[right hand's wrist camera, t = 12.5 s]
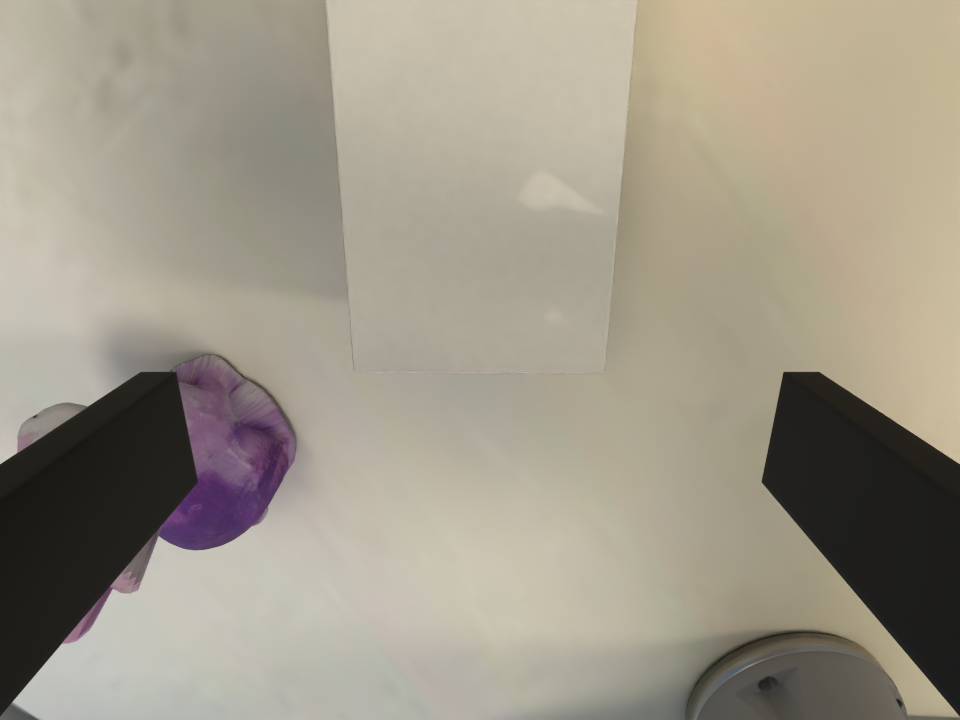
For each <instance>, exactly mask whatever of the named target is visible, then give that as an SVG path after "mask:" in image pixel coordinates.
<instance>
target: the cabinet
mask: <svg viewBox="0 0 960 720" xmlns="http://www.w3.org/2000/svg"><path fill="white" fill-rule="evenodd" d="M637 4H638V0H325V9H326V22H327V35H328V47H329V60H330V73H331V86H332V99H333V112H334V125H335V137H336V150H337V163H338V176H339V189H340V202H341V214H342V227H343V240H344V253H345V266H346V279H347V292H348V304H349V317H350V330H351V343H352V356H353V369H354V372H371V373H588V374H603V373H604V372H605V365H606V354H607V342H608V331H609V320H610V309H611V297H612V286H613V275H614V263H615V252H616V241H617V230H618V218H619V207H620V196H621V184H622V173H623V162H624V151H625V139H626V128H627V117H628V106H629V94H630V83H631V72H632V60H633V49H634V38H635V27H636V15H637Z"/></svg>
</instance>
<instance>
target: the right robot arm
mask: <svg viewBox="0 0 960 720" xmlns="http://www.w3.org/2000/svg"><path fill="white" fill-rule="evenodd" d="M197 483H198V478H197V473H196V468H195V463H194V458H193V453H192V448H191V443H190V438H189V433H188V428H187V423H186V418H185V413H184V408H183V403H182V398H181V393H180V388H179V383H178V378H177V373H176V372H140V373H139V374H137V375H136V376H134V377H133V378H131V379H130V380H128V381H126V382H125V383H123V384H122V385H120V386H119V387H117V388H116V389H114V390H113V391H111V392H110V393H108V394H107V395H105V396H104V397H102V398H101V399H99V400H98V401H96V402H95V403H93V404H91V405H90V406H88V407H87V408H85V409H84V410H82V411H81V412H79V413H78V414H76V415H75V416H73V417H72V418H70V419H69V420H67V421H66V422H64V423H63V424H61V425H59V426H58V427H56V428H55V429H53V430H52V431H50V432H49V433H47V434H46V435H44V436H43V437H41V438H40V439H38V440H37V441H35V442H34V443H32V444H31V445H29V446H28V447H26V448H24V449H23V450H21V451H20V452H18V453H17V454H15V455H14V456H12V457H11V458H9V459H8V460H6V461H5V462H3V463H2V464H0V716H1V715H2V713H3V712H4V711H5V710H6V709H7V708H8V706H9V705H10V704H11V703H12V702H13V700H14V699H15V698H16V697H17V696H18V695H19V693H20V692H21V691H22V690H23V689H24V687H25V686H26V685H27V684H28V683H29V682H30V680H31V679H32V678H33V677H34V676H35V674H36V673H37V672H38V671H39V670H40V669H41V667H42V666H43V665H44V664H45V663H46V662H47V660H48V659H49V658H50V657H51V656H52V654H53V653H54V652H55V651H56V650H57V649H58V647H59V646H60V645H61V644H62V643H63V641H64V640H65V639H66V638H67V637H68V636H69V634H70V633H71V632H72V631H73V630H74V628H75V627H76V626H77V625H78V624H79V623H80V621H81V620H82V619H83V618H84V617H85V615H86V614H87V613H88V612H89V611H90V610H91V608H92V607H93V606H94V605H95V604H96V602H97V601H98V600H99V599H100V598H101V597H102V595H103V594H104V593H105V592H106V591H107V589H108V588H109V587H110V586H111V585H112V584H113V582H114V581H115V580H116V579H117V578H118V576H119V575H120V574H121V573H122V572H123V571H124V569H125V568H126V567H127V566H128V565H129V563H130V562H131V561H132V560H133V559H134V558H135V556H136V555H137V554H138V553H139V552H140V550H141V549H142V548H143V547H144V546H145V545H146V543H147V542H148V541H149V540H150V539H151V537H152V536H153V535H154V534H155V533H156V532H157V530H158V529H159V528H160V527H161V526H162V524H163V523H164V522H165V521H166V520H167V519H168V517H169V516H170V515H171V514H172V513H173V511H174V510H175V509H176V508H177V507H178V506H179V504H180V503H181V502H182V501H183V500H184V498H185V497H186V496H187V495H188V494H189V493H190V491H191V490H192V489H193V488H194V487H195V485H196V484H197ZM762 483H763V484H764V485H765V487H766V488H767V489H768V490H769V491H770V493H771V494H772V495H773V496H774V497H775V498H776V500H777V501H778V502H779V503H780V504H781V506H782V507H783V508H784V509H785V510H786V511H787V513H788V514H789V515H790V516H791V517H792V519H793V520H794V521H795V522H796V523H797V524H798V526H799V527H800V528H801V529H802V530H803V532H804V533H805V534H806V535H807V536H808V537H809V539H810V540H811V541H812V542H813V543H814V545H815V546H816V547H817V548H818V549H819V550H820V552H821V553H822V554H823V555H824V556H825V558H826V559H827V560H828V561H829V562H830V563H831V565H832V566H833V567H834V568H835V569H836V571H837V572H838V573H839V574H840V575H841V576H842V578H843V579H844V580H845V581H846V582H847V584H848V585H849V586H850V587H851V588H852V589H853V591H854V592H855V593H856V594H857V595H858V597H859V598H860V599H861V600H862V601H863V602H864V604H865V605H866V606H867V607H868V608H869V610H870V611H871V612H872V613H873V614H874V615H875V617H876V618H877V619H878V620H879V621H880V623H881V624H882V625H883V626H884V627H885V628H886V630H887V631H888V632H889V633H890V634H891V636H892V637H893V638H894V639H895V640H896V641H897V643H898V644H899V645H900V646H901V647H902V649H903V650H904V651H905V652H906V653H907V654H908V656H909V657H910V658H911V659H912V660H913V662H914V663H915V664H916V665H917V666H918V667H919V669H920V670H921V671H922V672H923V673H924V675H925V676H926V677H927V678H928V679H929V680H930V682H931V683H932V684H933V685H934V686H935V687H936V689H937V690H938V691H939V692H940V693H941V695H942V696H943V697H944V698H945V699H946V700H947V702H948V703H949V704H950V705H951V706H952V708H953V709H954V710H955V711H956V712H957V713H958V715H959V716H960V464H958V463H957V462H955V461H954V460H952V459H951V458H949V457H948V456H946V455H945V454H943V453H942V452H940V451H939V450H937V449H936V448H934V447H932V446H931V445H929V444H928V443H926V442H925V441H923V440H922V439H920V438H919V437H917V436H916V435H914V434H913V433H911V432H910V431H908V430H907V429H905V428H904V427H902V426H900V425H899V424H897V423H896V422H894V421H893V420H891V419H890V418H888V417H887V416H885V415H884V414H882V413H881V412H879V411H878V410H876V409H875V408H873V407H872V406H870V405H869V404H867V403H865V402H864V401H862V400H861V399H859V398H858V397H856V396H855V395H853V394H852V393H850V392H849V391H847V390H846V389H844V388H843V387H841V386H840V385H838V384H837V383H835V382H834V381H832V380H830V379H829V378H827V377H826V376H824V375H823V374H821V373H820V372H784V373H783V378H782V383H781V388H780V393H779V398H778V403H777V408H776V413H775V418H774V423H773V428H772V433H771V438H770V443H769V448H768V453H767V458H766V463H765V468H764V473H763V478H762ZM686 720H908V717H907V712H906V708H905V705H904V703H903V700H902V698H901V696H900V694H899V692H898V689H897V687H896V686H895V684H894V682H893V681H892V680H891V678H890V677H889V676H888V674H887V673H886V672H885V670H884V669H883V668H882V667H881V665H880V664H879V663H878V662H877V660H876V659H875V658H874V657H873V656H872V655H871V654H870V653H869V652H867V651H866V650H865V649H863V648H862V647H860V646H858V645H857V644H855V643H853V642H850V641H848V640H845V639H842V638H839V637H835V636H831V635H825V634H817V633H795V634H786V635H780V636H775V637H770V638H766V639H763V640H760V641H757V642H754V643H752V644H749V645H747V646H744V647H742V648H740V649H738V650H736V651H735V652H733V653H731V654H729V655H728V656H726V657H725V658H723V659H722V660H720V661H719V662H718V663H717V664H715V665H714V666H713V667H712V668H711V669H710V670H709V671H708V672H707V673H706V674H705V675H704V676H703V677H702V678H701V680H700V681H699V682H698V684H697V685H696V687H695V688H694V690H693V692H692V694H691V696H690V699H689V701H688V705H687V710H686Z"/></svg>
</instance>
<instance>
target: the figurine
mask: <svg viewBox="0 0 960 720" xmlns="http://www.w3.org/2000/svg"><path fill="white" fill-rule="evenodd" d="M170 372H176V373H177V378H178V383H179V388H180V393H181V398H182V403H183V408H184V413H185V418H186V423H187V428H188V433H189V438H190V443H191V448H192V453H193V458H194V463H195V468H196V473H197V478H198V483H197V484H196V485H195V487H194V488H193V489H192V490H191V491H190V493H189V494H188V495H187V496H186V497H185V498H184V500H183V501H182V502H181V503H180V504H179V506H178V507H177V508H176V509H175V510H174V511H173V513H172V514H171V515H170V516H169V517H168V519H167V520H166V521H165V522H164V523H163V524H162V526H161V527H160V528H159V529H158V530H157V532H156V533H155V534H154V535H153V536H152V537H151V539H150V540H149V541H148V542H147V543H146V545H145V546H144V547H143V548H142V549H141V550H140V552H139V553H138V554H137V555H136V556H135V558H134V559H133V560H132V561H131V562H130V563H129V565H128V566H127V567H126V568H125V569H124V571H123V572H122V573H121V574H120V575H119V576H118V578H117V579H116V580H115V581H114V582H113V584H112V585H111V586H110V587H109V588H108V589H107V591H106V592H105V593H104V594H103V595H102V597H101V598H100V599H99V600H98V601H97V602H96V604H95V605H94V606H93V607H92V608H91V610H90V611H89V612H88V613H87V614H86V615H85V617H84V618H83V619H82V620H81V621H80V623H79V624H78V625H77V626H76V627H75V628H74V630H73V631H72V632H71V633H70V634H69V636H68V637H67V638H66V639H65V640H64V641H63V643H71V642H74V641H77V640H78V639H80V638H81V637H82V636H83V635H84V634H86V633H87V632H88V631H89V630H90V628H91V627H92V625H93V624H94V622H95V620H96V618H97V616H98V615H99V613H100V611H101V609H102V607H103V606H104V604H105V602H106V600H107V598H108V597H109V595H110V593H111V591H112V589H115V590H117V591H119V592H121V593H133V592H135V591H137V590H138V589H139V586H140V584H141V581H142V578H143V576H144V573H145V570H146V568H147V565H148V563H149V560H150V557H151V555H152V552H153V549H154V547H155V544H156V541H157V539H158V536H160V537H161V538H162V539H164V540H166V541H167V542H169V543H171V544H173V545H176V546H178V547H180V548H184V549H189V550H205V549H210V548H214V547H218V546H221V545H224V544H226V543H228V542H230V541H232V540H234V539H236V538H237V537H239V536H240V535H241V534H243V533H244V532H245V531H247V530H248V529H249V528H250V527H252V526H256V525H258V524H259V523H261V522H262V520H263V519H264V518H265V516H266V514H267V512H268V505H269V503H270V502H271V500H272V498H273V496H274V494H275V493H276V491H277V489H278V487H279V486H280V484H281V482H282V480H283V477H284V475H285V474H286V472H287V471H288V469H289V468H290V466H291V465H292V463H293V462H294V459H295V452H296V443H295V438H294V435H293V433H292V431H291V429H290V427H289V426H288V424H287V422H286V421H285V419H284V417H283V416H282V414H281V412H280V411H279V409H278V407H277V406H276V404H275V403H274V402H273V401H272V399H271V398H270V397H269V396H268V395H267V394H266V392H265V390H264V389H262V388H260V387H258V386H257V385H255V384H254V383H252V382H250V381H249V380H246V379H244V378H242V377H241V376H240V375H239V374H238V373H237V372H235V371H234V369H233V368H232V367H231V366H230V365H229V364H228V363H227V362H225V361H224V360H223V359H221V358H220V357H218V356H216V355H205V356H201V357H199V358H198V359H196V358H195V359H194V360H191V361H190V362H189V361H187V362H186V363H182V364H179V365H178V366H175V367H174V369H173V370H170ZM85 408H87V406H83V405H78V404H73V403H61V404H56V405H53V406H51V407H48V408H46V409H44V410H42V411H41V412H39V413H38V414H37V415H35V416H33V417H31V418H29V419H28V420H27V421H25V422H24V423H23V424H22V426H21V428H20V430H19V433H18V452H20V451H21V450H23V449H24V448H26V447H28V446H29V445H31V444H32V443H34V442H35V441H37V440H38V439H40V438H41V437H43V436H44V435H46V434H47V433H49V432H50V431H52V430H53V429H55V428H56V427H58V426H59V425H61V424H63V423H64V422H66V421H67V420H69V419H70V418H72V417H73V416H75V415H76V414H78V413H79V412H81V411H82V410H84V409H85Z"/></svg>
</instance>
